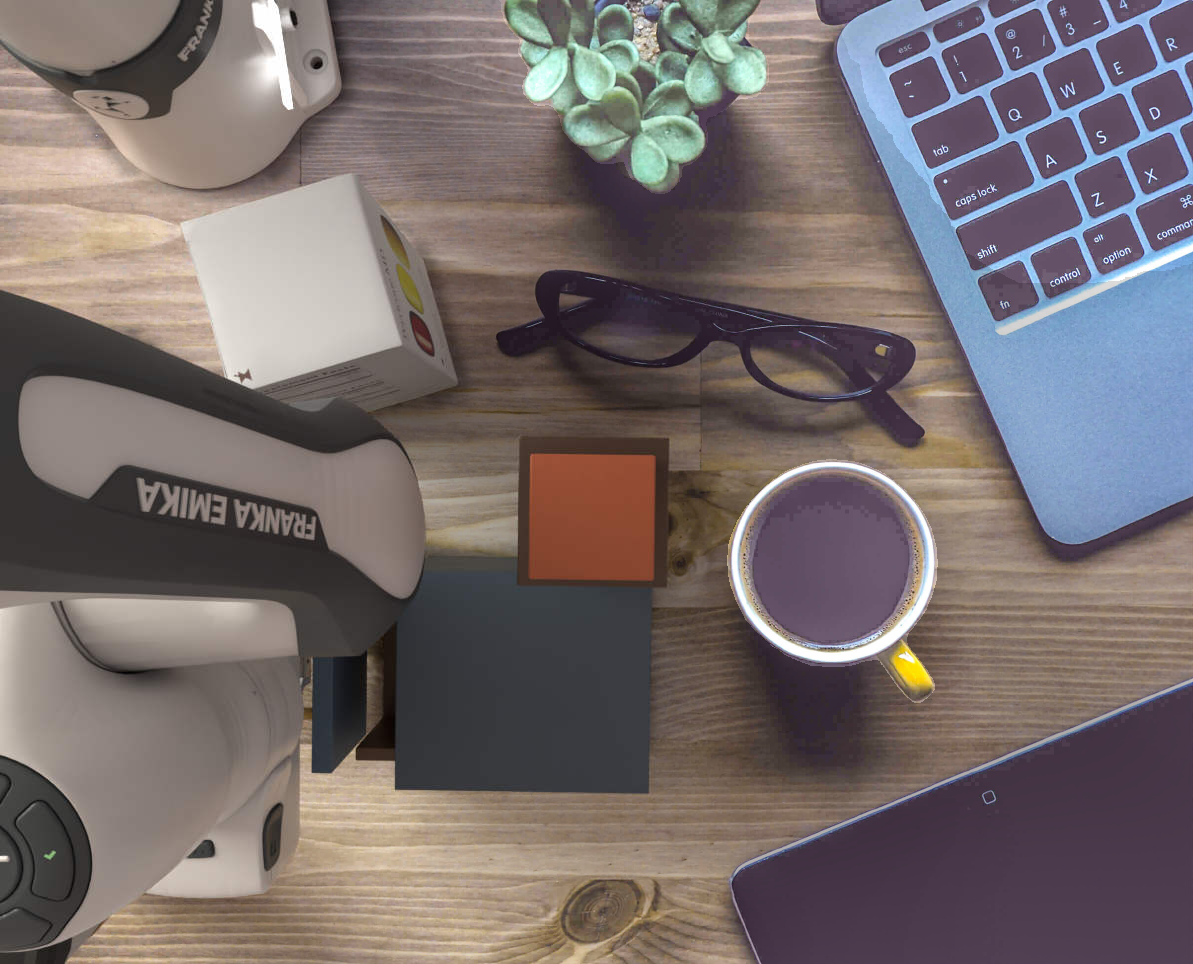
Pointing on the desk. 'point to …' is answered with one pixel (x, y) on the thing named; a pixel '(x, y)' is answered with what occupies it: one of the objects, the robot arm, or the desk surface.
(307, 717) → the drawer
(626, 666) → the cabinet
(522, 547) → the stand
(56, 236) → the desk surface
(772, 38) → the desk surface
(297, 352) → the supplement box
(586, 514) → the block
